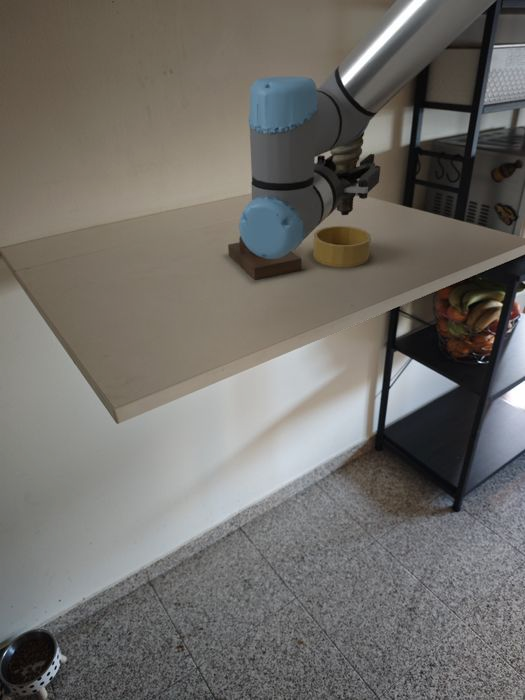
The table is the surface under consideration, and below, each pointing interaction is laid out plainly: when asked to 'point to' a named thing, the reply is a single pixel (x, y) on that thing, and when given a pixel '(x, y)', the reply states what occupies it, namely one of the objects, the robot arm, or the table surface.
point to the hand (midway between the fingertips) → (354, 160)
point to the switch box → (262, 262)
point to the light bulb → (347, 167)
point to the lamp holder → (341, 246)
